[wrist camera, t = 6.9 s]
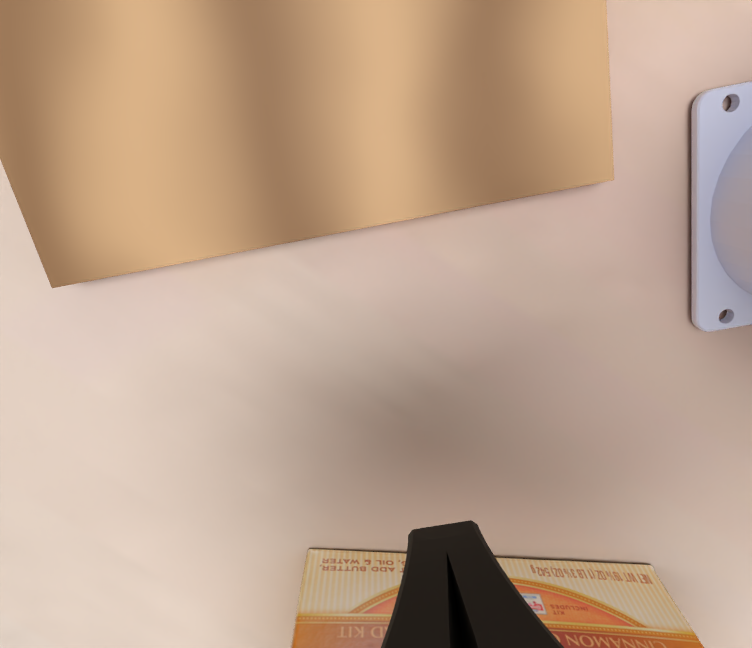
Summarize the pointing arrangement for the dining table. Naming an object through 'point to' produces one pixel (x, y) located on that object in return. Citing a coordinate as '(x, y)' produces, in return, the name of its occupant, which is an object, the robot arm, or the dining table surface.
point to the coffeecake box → (530, 577)
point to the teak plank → (286, 119)
